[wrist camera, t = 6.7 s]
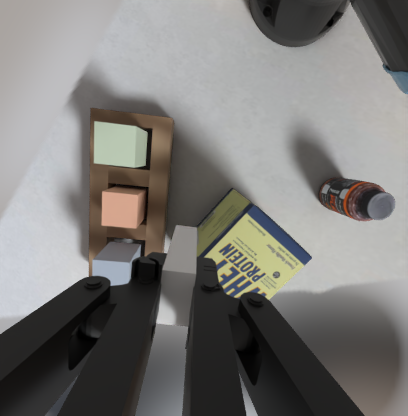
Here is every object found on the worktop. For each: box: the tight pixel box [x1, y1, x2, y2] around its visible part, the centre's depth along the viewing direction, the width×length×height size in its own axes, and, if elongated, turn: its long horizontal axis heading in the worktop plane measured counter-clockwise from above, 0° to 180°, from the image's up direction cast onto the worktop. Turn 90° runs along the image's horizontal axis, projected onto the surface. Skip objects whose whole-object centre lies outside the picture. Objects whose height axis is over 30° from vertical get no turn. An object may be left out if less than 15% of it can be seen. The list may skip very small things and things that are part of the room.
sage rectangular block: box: [94, 121, 147, 168], centre depth 32 cm, size 5×5×7 cm
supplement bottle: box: [319, 178, 395, 221], centre depth 37 cm, size 6×6×11 cm
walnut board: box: [89, 108, 174, 277], centre depth 40 cm, size 28×12×4 cm, turn 174°
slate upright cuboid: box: [92, 242, 141, 286], centre depth 36 cm, size 5×5×7 cm
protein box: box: [196, 188, 312, 300], centre depth 36 cm, size 10×16×16 cm
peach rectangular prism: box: [102, 186, 148, 229], centre depth 37 cm, size 5×5×7 cm
